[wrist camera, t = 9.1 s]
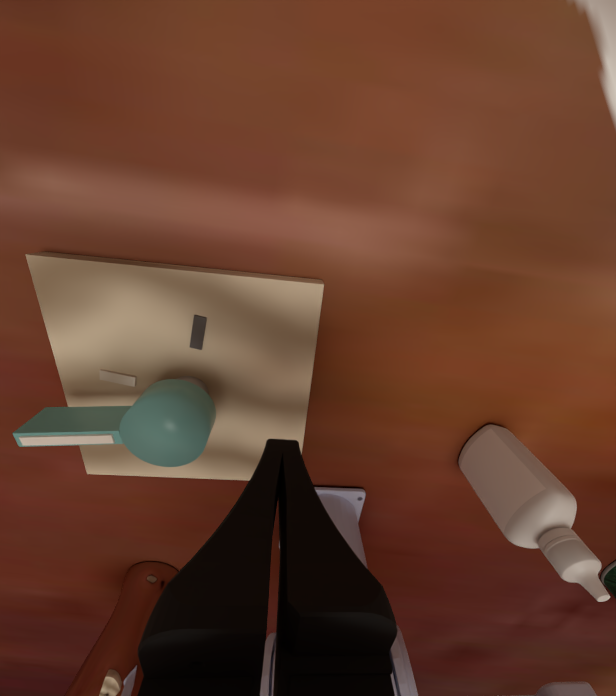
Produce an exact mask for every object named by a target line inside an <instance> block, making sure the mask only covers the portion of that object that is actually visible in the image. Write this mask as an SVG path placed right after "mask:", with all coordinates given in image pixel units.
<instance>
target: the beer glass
mask: <svg viewBox="0 0 616 696" xmlns="http://www.w3.org/2000/svg"><path fill="white" fill-rule="evenodd" d="M177 573H178V571H177V570H176V569H175V568H173V567H172V566H170V565H167V564H164V563H160V562H142V563H139V564H136V565H134V566H132V567H131V568H130V569H129V570H128V572H127V574H126V576H125V579H124V582H123V586H122V589H121V593H120V596H119V599H118V602H117V604H116V606H115V609H114V611H113V613H112V615H111V617H110V619H109V621H108V623H107V624H106V626H105V628H104V629H103V631H102V633H101V635H100V636H99V638H98V640H97V641H96V643H95V644H94V646H93V648H92V649H91V651H90V653H89V654H88V656H87V657H86V659H85V661H84V662H83V664H82V666H81V667H80V669H79V671H78V672H77V674H76V676H75V678H74V679H73V681H72V683H71V685H70V686H69V688H68V690H67V692H66V693H65V695H64V696H137V695H138V692H139V689H140V686H141V683H142V680H143V677H144V676H143V672H142V669H141V665H140V662H139V658H138V646H139V644H140V641H141V638H142V635H143V632H144V630H145V627H146V624H147V622H148V619H149V617H150V615H151V613H152V611H153V609H154V607H155V605H156V603H157V601H158V599H159V597H160V596H161V594H162V592H163V590H164V589H165V587H166V585H167V584H168V582H169V581H170V580H171V579H172V578H173V577H174V576H175V575H176V574H177Z"/></svg>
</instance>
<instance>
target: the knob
mask: <svg viewBox="0 0 616 696" xmlns="http://www.w3.org/2000/svg"><path fill="white" fill-rule="evenodd" d="M215 419H216V408H215V405H214V402H213V400H212V399H211V397H210V396H209V395H208V394H207V393H206V392H205V391H204V390H203V389H202V388H200V387H199V386H197V385H195V384H193V383H191V382H188V381H184V380H179V379H166V380H161V381H158V382H156V383H153V384H152V385H150V386H149V387H148V388H147V389H146V390H145V391H144V392H143V393H142V395H141V396H140V397H139V398H138V399H137V400H136V402H135V403H134V404H133V405H132V406H90V407H46V408H44V409H43V410H42V411H40V412H39V413H38V414H37V415H35V416H34V417H33V418H31V419H30V420H29V421H28V422H26V423H25V424H24V425H22V426H21V427H20V428H19V429H17V430H16V431H15V432H13V433H12V434H13V436H14V438H15V439H16V441H17V443H18V445H19V447H25V446H63V445H102V444H123V443H124V445H125V446H126V448H127V449H128V450H129V451H130V452H131V453H132V454H133V455H135V456H136V457H138V458H139V459H141V460H143V461H145V462H147V463H150V464H153V465H156V466H162V467H178V466H183V465H186V464H189V463H191V462H193V461H194V460H196V459H197V458H198V457H199V456H200V455H201V454H202V452H203V451H204V449H205V446H206V444H207V441H208V438H209V436H210V433H211V430H212V428H213V425H214V423H215Z"/></svg>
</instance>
